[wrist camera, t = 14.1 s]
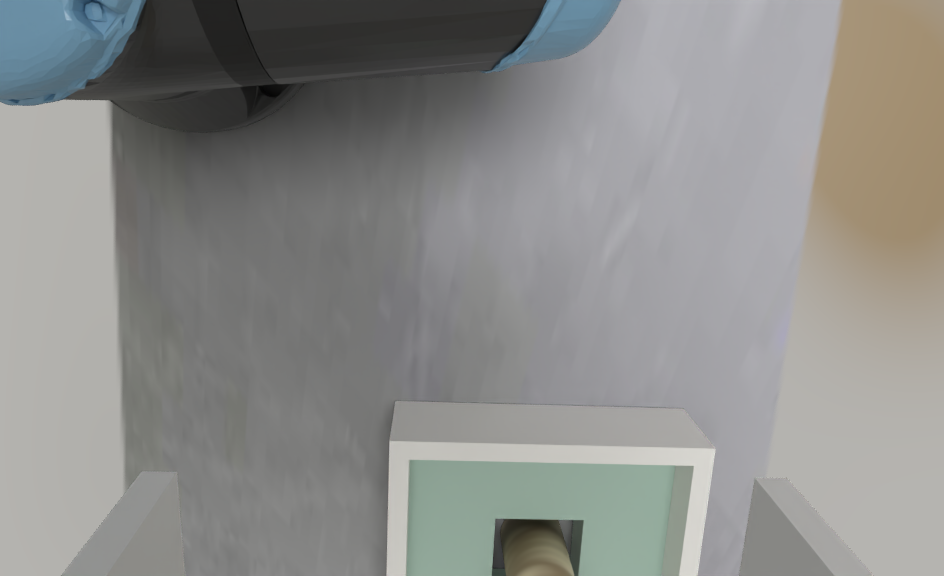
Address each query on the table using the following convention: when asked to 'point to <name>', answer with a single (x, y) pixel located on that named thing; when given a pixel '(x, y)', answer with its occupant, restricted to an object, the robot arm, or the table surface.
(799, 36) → the table surface
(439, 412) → the bore box
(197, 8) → the robot arm
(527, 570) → the peg
